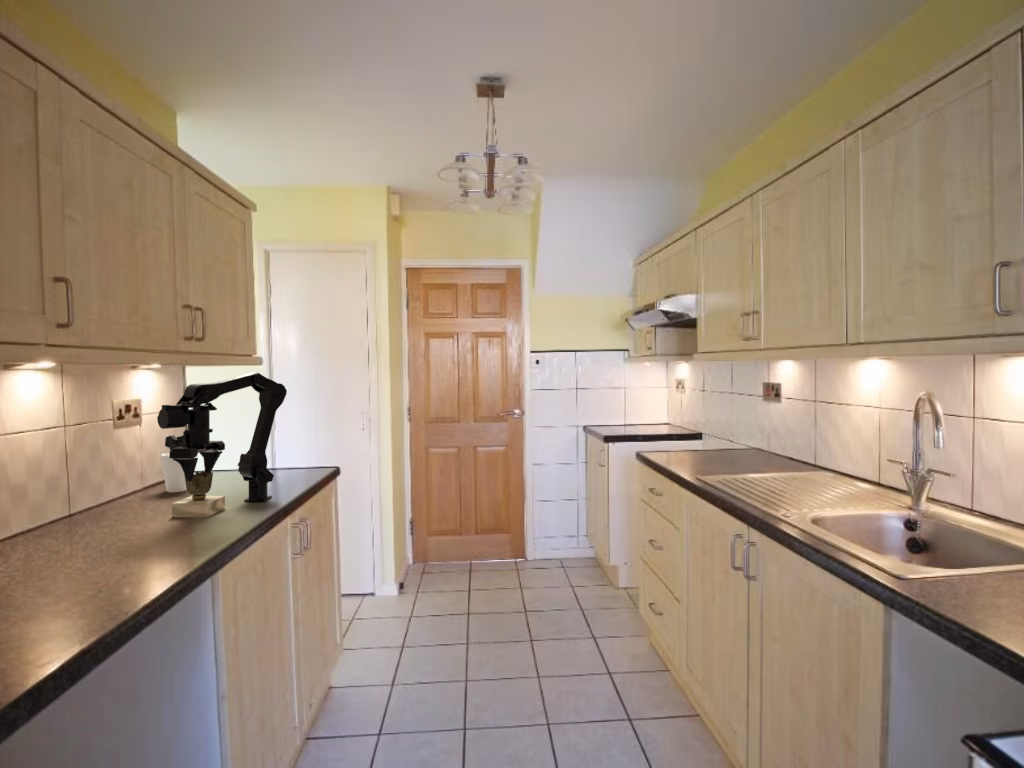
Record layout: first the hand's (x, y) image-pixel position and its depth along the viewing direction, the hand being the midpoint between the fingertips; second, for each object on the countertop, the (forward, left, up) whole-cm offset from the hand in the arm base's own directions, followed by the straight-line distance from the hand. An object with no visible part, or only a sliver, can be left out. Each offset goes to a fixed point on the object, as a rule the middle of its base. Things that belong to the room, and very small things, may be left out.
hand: (198, 477), depth 163 cm
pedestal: (0, 0, -11) cm, 11 cm away
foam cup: (-29, -25, -11) cm, 40 cm away
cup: (0, 0, -7) cm, 7 cm away
